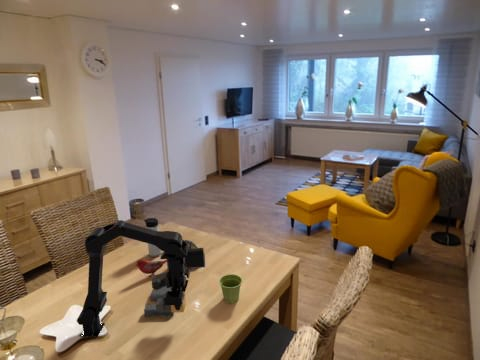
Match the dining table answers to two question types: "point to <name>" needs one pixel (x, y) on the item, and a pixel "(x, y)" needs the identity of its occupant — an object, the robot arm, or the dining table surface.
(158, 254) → the travel mug
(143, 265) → the decorative bird figurine
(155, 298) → the grey rectangular blocks
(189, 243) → the decorative flower
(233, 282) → the plant pot
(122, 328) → the dining table surface
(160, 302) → the plug
